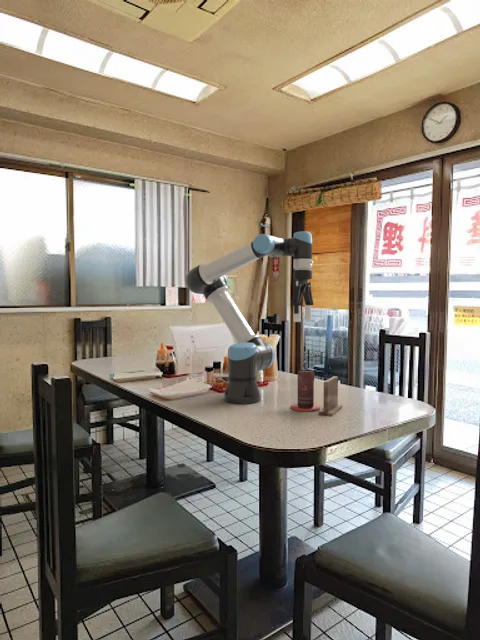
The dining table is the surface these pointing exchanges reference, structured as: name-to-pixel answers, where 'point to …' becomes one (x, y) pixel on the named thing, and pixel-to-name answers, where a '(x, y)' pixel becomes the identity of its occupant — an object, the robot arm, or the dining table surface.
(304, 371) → the can
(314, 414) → the dining table surface
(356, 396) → the dining table surface
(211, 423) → the dining table surface
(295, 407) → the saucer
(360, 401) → the dining table surface
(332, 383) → the screen
